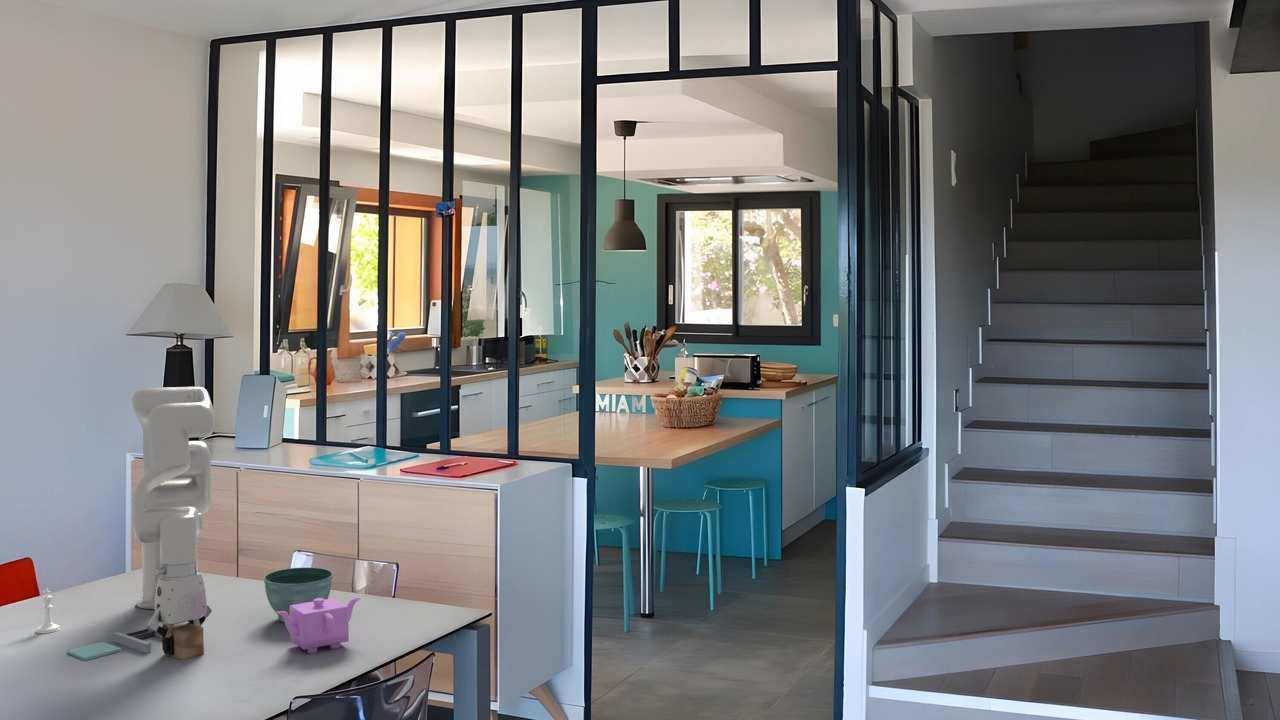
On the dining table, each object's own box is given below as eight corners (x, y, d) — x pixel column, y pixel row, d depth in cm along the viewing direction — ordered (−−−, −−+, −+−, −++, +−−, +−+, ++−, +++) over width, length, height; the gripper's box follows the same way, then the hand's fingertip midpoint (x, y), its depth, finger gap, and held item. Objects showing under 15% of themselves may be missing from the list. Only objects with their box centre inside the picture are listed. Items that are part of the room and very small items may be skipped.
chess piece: (49, 634, 253) (48, 591, 253) (31, 632, 254) (30, 590, 254) (64, 627, 258) (63, 586, 258) (46, 626, 259) (45, 585, 259)
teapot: (330, 659, 236) (329, 609, 235) (274, 655, 238) (273, 606, 238) (362, 638, 251) (361, 592, 250) (309, 634, 253) (308, 588, 253)
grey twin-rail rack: (150, 632, 255) (150, 623, 255) (184, 642, 247) (184, 634, 247) (113, 641, 248) (113, 632, 248) (146, 653, 240) (146, 644, 239)
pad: (102, 644, 246) (102, 641, 246) (121, 651, 241) (121, 648, 241) (66, 653, 239) (66, 650, 239) (85, 660, 235) (85, 657, 235)
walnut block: (185, 648, 243) (185, 622, 243) (203, 654, 239) (203, 627, 239) (164, 654, 239) (164, 627, 239) (182, 660, 235) (182, 633, 235)
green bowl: (347, 614, 270) (346, 571, 270) (301, 631, 256) (300, 586, 255) (297, 606, 277) (296, 564, 276) (249, 623, 262) (249, 579, 262)
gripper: (151, 579, 230) (153, 664, 231) (223, 564, 243) (225, 644, 244) (132, 574, 234) (134, 657, 235) (204, 559, 248) (206, 638, 249)
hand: (180, 649), depth 240 cm, fingers closed on walnut block, 5 cm apart
